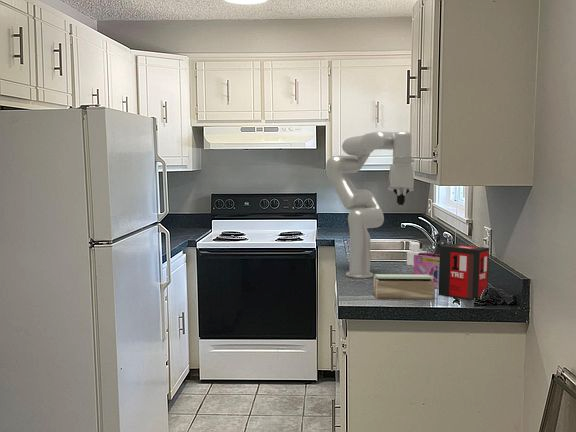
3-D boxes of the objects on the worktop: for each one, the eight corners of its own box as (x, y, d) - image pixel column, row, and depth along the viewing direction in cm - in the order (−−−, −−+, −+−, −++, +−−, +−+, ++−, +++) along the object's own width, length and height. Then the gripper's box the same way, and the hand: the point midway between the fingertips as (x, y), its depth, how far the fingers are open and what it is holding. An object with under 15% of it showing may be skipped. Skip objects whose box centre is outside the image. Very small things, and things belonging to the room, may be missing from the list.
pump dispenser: (426, 270, 297) (427, 240, 295) (439, 268, 304) (440, 238, 302) (444, 274, 289) (445, 242, 288) (456, 271, 296) (458, 240, 294)
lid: (374, 276, 246) (374, 274, 246) (427, 276, 246) (427, 274, 246) (378, 278, 236) (378, 276, 236) (433, 278, 237) (433, 276, 237)
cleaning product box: (438, 295, 245) (440, 245, 243) (448, 291, 251) (450, 243, 249) (477, 301, 234) (479, 250, 232) (487, 297, 240) (489, 247, 238)
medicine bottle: (412, 263, 318) (412, 240, 317) (425, 264, 314) (425, 241, 313) (406, 265, 312) (407, 242, 311) (419, 266, 308) (420, 243, 307)
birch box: (373, 293, 247) (373, 276, 246) (427, 293, 247) (427, 276, 247) (377, 298, 237) (377, 281, 236) (433, 299, 237) (433, 281, 237)
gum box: (409, 285, 263) (410, 254, 262) (416, 282, 270) (417, 252, 268) (465, 292, 250) (466, 259, 249) (470, 288, 257) (471, 257, 256)
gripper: (417, 161, 260) (416, 204, 262) (382, 161, 260) (381, 204, 261) (421, 161, 252) (420, 205, 254) (385, 161, 252) (384, 205, 254)
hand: (400, 204), depth 258 cm, fingers closed
